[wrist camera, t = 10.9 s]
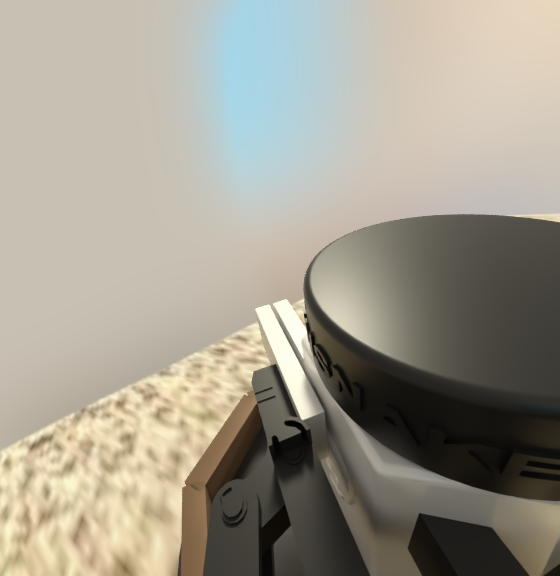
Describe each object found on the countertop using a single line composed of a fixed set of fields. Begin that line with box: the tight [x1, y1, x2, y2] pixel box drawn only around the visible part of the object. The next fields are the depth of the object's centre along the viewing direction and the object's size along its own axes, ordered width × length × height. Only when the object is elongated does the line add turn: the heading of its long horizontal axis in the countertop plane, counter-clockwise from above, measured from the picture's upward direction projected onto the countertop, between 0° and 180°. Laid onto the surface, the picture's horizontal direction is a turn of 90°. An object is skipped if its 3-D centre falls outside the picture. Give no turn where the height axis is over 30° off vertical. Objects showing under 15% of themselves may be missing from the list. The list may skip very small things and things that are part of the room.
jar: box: [301, 214, 560, 576], centre depth 10 cm, size 9×8×12 cm
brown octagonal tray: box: [178, 390, 322, 576], centre depth 14 cm, size 17×17×3 cm
